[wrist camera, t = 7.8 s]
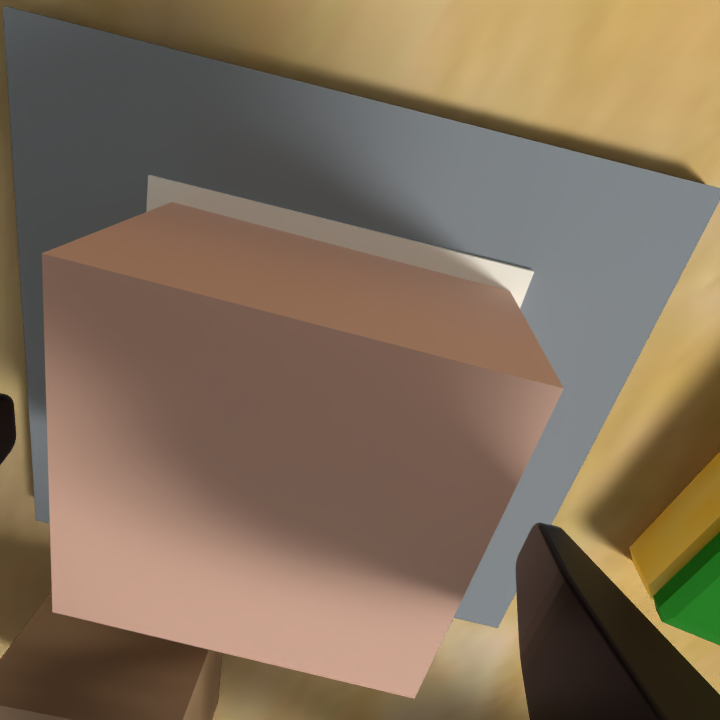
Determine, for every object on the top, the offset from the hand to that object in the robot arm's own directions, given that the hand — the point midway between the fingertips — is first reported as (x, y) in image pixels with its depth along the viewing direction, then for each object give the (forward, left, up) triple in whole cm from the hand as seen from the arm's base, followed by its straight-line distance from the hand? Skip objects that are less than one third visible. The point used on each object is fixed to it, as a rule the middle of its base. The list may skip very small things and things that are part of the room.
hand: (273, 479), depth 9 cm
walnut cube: (+4, +11, -4) cm, 12 cm away
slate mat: (0, 0, -4) cm, 4 cm away
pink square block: (0, 0, -3) cm, 3 cm away
